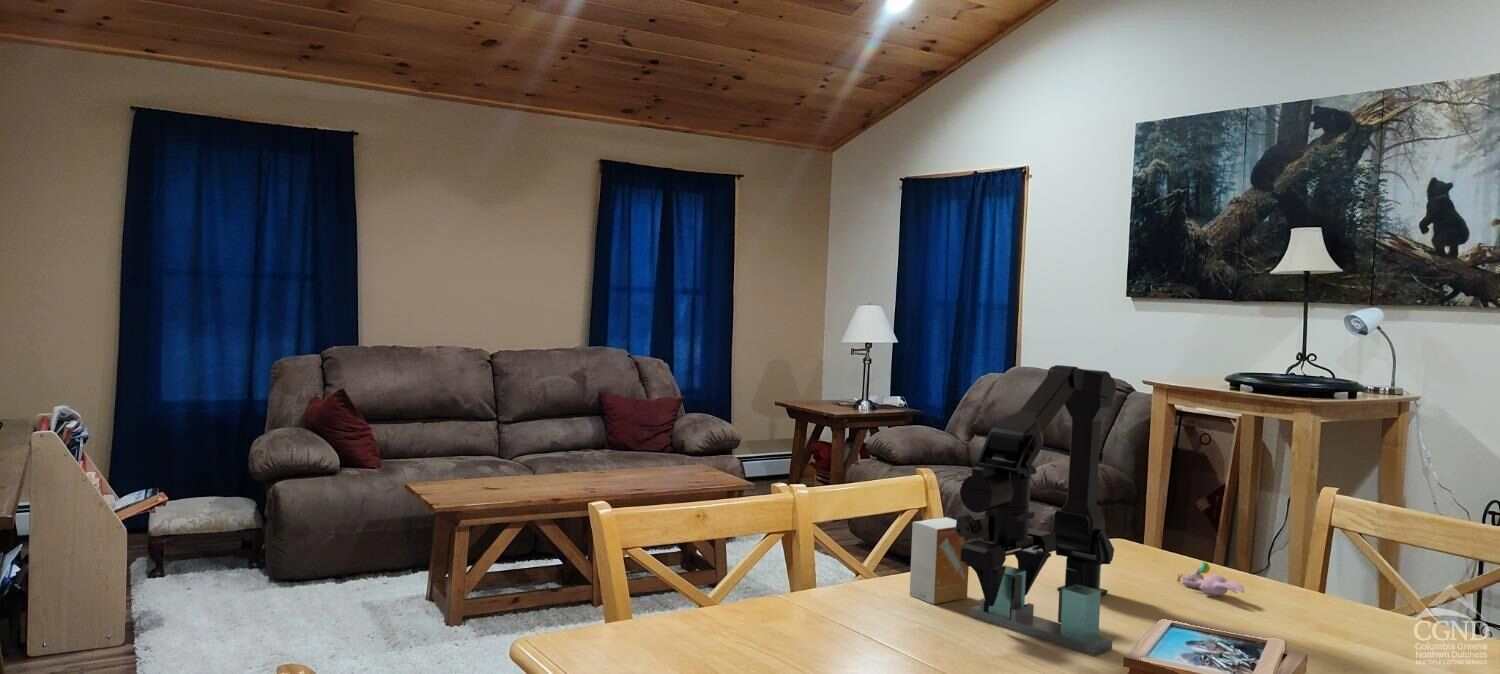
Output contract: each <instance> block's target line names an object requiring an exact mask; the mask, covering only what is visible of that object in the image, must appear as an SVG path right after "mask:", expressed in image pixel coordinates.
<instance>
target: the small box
mask: <svg viewBox="0 0 1500 674" xmlns="http://www.w3.org/2000/svg"><path fill="white" fill-rule="evenodd" d="M956 522H957V519H953V518H950V517H947V516H945V517H941V518H931V519H924V520H918V521H913V522H912V529H911V530H912V533H911V535H912V536H911V550H910V551H911V554H910V575H909V576H910V577H909V596H911V597H914V598H917V599H918V600H921V601H924V602H927V603H930V604H932V605H936V604H941V603H946V602H953V601H959V600H965V599H968V587H969V586H968V584H969V583H968V582H969V569H970V568H969V567H970V566H967V565H966V564H965V562H963V561H960V548H961V547H962V546H963V545H964V544H965V543H969V542H971V539H970V540H969V541H964V539H963V536H959V535H958V534H957V532H956Z"/></svg>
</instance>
